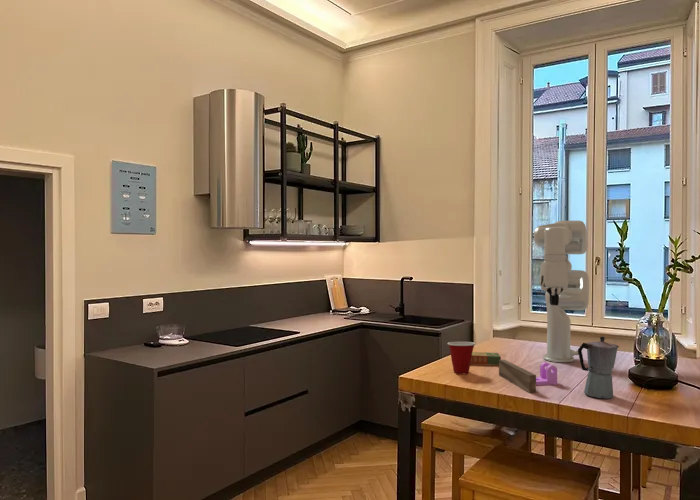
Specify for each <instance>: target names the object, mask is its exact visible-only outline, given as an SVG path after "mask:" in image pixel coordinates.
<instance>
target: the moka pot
mask: <svg viewBox="0 0 700 500" xmlns="http://www.w3.org/2000/svg"><path fill="white" fill-rule="evenodd" d="M599 338H600V340H599V341H589V342H583V343H581V345H580V346H579V348H578V349H577V351H578V354H579V355H578V356H579V357H578V358H579V362H580V365H581V369H582V371H585V372H588V373H587V377H586V381H585V386H584V389H583V390H584V391H583V392H584V394H585V395H586V396H589V397H592V398H597V399H606V400H607V399H613V398H614V388H613V387H614V386H613V375H612V374H613V370H614V369H615V364H616V359H617V353H618V352H617V351H618V348H620V346H619V345H618V344H614V343H611V342H610V343H609V342H606V341H605V339H606V336H599ZM583 349H586V351H587V365H588V367H586V366H585V363H584V362H585V361H584V354H583V351H582V350H583Z"/></svg>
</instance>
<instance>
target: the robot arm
mask: <svg viewBox="0 0 700 500" xmlns="http://www.w3.org/2000/svg"><path fill="white" fill-rule="evenodd" d="M533 239H534V243H535V244H536V245H537V246H544V250H543V253H544V259H543V260H544V261H542V262H541V266H540V271H539V286H540V290H542V291H544V292H545V293H544V294H545V297H544V298H545V299H544V300H545V306H546V316H547V317H546V320H547V321H546V324H547V325H546V327H547V328H546V331H547V332H546V354H543V356H542V359H544V360H545V361H549V362H554V363H572V362H574V361H575V358H574V356H579V354H578V350H574V349H571V322H572V321H571V318H570V316H569V315H568V314H567V313H566V311H569V310H570V311H586V309H587V308H588V306H589V303H590V302H589V301H590V277H589V274H588V273H587V272H586V271H585V270H581V269H580V270H579V269H572V268H573V267H572V262H570V260H569V259H568V255H583V254H585V253H586V252H587V251H588V232H587V227H586V224H585V223H584V221H583V220H558V221H555V222H554V223H548V224H544V225H543V224H541V225H538V226H537V227H536V228H535V229H534V233H533ZM565 310H566V311H565Z"/></svg>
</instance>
